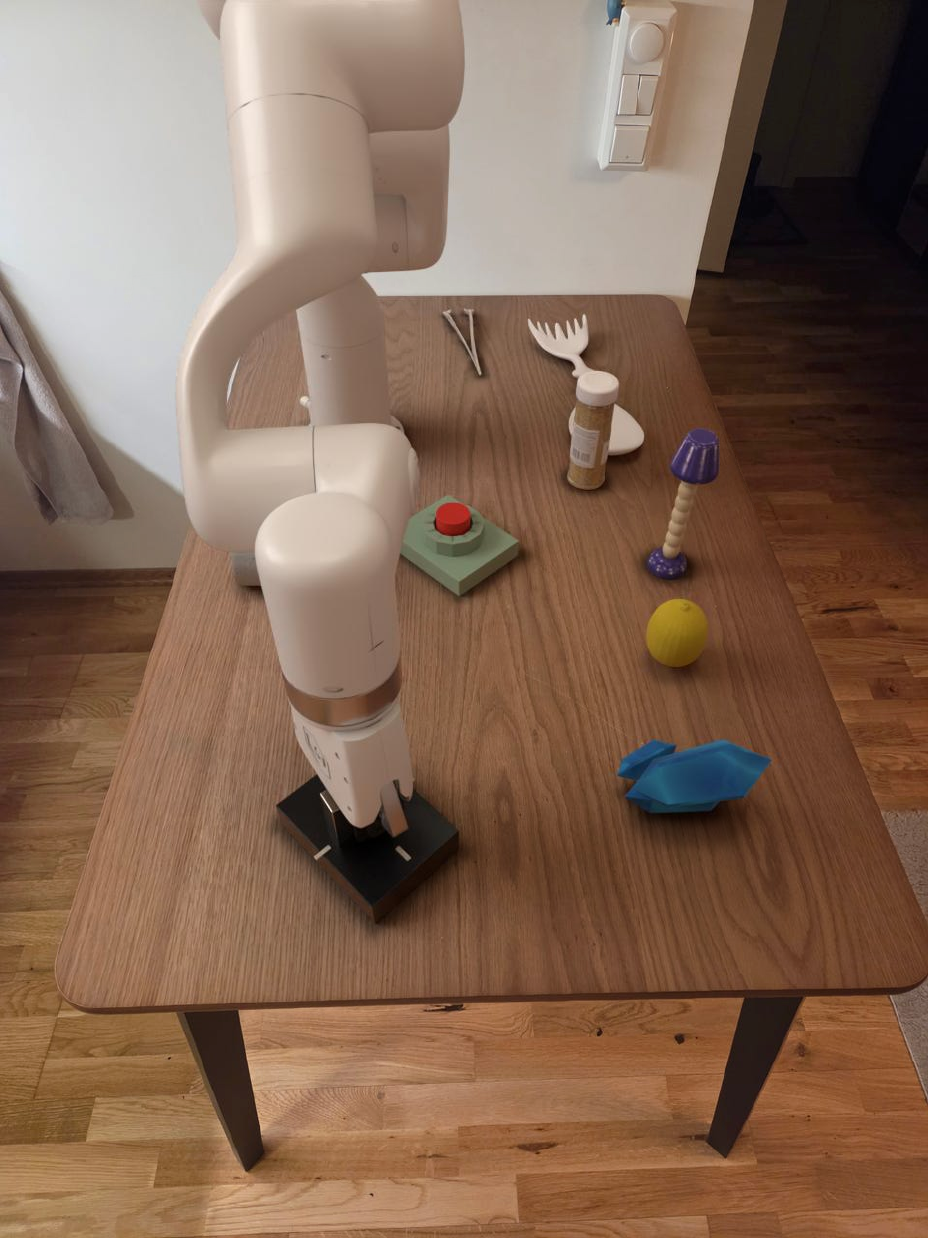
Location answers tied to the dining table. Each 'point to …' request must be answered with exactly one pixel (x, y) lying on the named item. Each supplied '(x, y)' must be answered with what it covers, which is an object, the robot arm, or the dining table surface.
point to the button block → (457, 548)
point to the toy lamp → (685, 497)
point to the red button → (453, 519)
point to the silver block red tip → (339, 818)
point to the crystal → (690, 775)
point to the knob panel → (371, 849)
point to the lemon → (677, 632)
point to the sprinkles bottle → (592, 429)
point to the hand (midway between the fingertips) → (365, 817)
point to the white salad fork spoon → (623, 425)
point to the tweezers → (474, 356)
